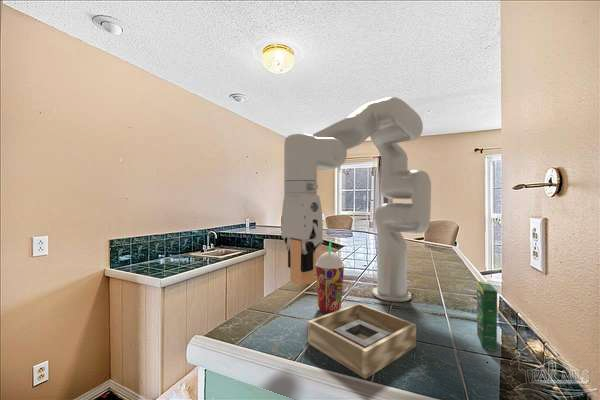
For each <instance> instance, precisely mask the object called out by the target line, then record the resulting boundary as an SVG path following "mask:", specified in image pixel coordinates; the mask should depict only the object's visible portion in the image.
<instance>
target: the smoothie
mask: <svg viewBox="0 0 600 400" xmlns="http://www.w3.org/2000/svg"><path fill="white" fill-rule="evenodd" d="M344 268H345V264H344V262H343V259H342V258H341V257H340V255H339V254H338V253H337V252H334V251H332V242H329V243H328V251H325V252H324V253H322V254H321V255H320V256H319V257H318V259H317V261H316V262H315V280H316V296H317V298H316V299H317V307H318V308H319V309H318V310H319V311H320V312H321V313H323V314H324V315H327V314H329V313H332V312H335V311H338V310H341V309H342V298H343V297H342V296H343V282H344V271H345V270H344Z"/></svg>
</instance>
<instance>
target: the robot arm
mask: <svg viewBox="0 0 600 400" xmlns="http://www.w3.org/2000/svg"><path fill="white" fill-rule="evenodd" d="M423 129H424V125H423V121H422V118H421V116H420V115H419V113H418V112H417V111H416V110H415V109H414V108H413V107H411V106H410V105H409V104H408V103H407V102H405V101H404V100H403V99H401V98H400V97H396V96H390V97H385V98H382V99H379V100H375V101H371V102H368V103H366V104H364V105H362V106H360V107H359V108H357V109H356V110H354V111H353V112H351V113H350V114H349V115H347V116H346V117H344V118H343V119H341V120H338V121H337V122H335V123H332V124H331V125H329V126H327V127H325V128H323V129H321V130H319V131H317V132H315V133H313V134H309V133H308V134H307V133H293V134H290V135H288V136H287V137H285V139H284V143H283V144H284V145H283V146H284V148H283V149H284V150H283V151H284V153H283V154H284V155H283V157H284V159H283V161H284V163H283V166H284V167H283V173H284V175H283V176H284V177H283V179H284V182H283V185H284V186H283V192H284V194H283V201H282V212H281V234H280V236H281V238H282V239H283V241H284V243H285V245H286V251H287V267H288V268H290V239H293V238H294V239H299V240H301V242H302V250H303V254H301V272H307V271H312V270H313V253H314V254H315V253H316V249H318V248H319V246H321V245H322V244H323V243H324V239H323V234H324V233H323V232H324V228H323V227H324V224H323V222H324V220H323V210H322V203H321V198H320V195H318V188H319V185H318V171H328V170H334V169H337V168H339V167H341V166H342V165H343V164H344V163H345V162H346V159H347V155H348V153H347V150H350V149H354V148H356V147H358V146H360V145H361V144H363V143H364V142H365V141H366V140H367V139H368V138H370V140H371V141H372V143H373V144H374V146H375V148H376V149H377V150H378V152H379V155H380V159H381V175H380V178H381V179H380V191H381V192H380V193H381V195H382V197H384V198H386V199H391V200H411V203H409V202H408V203H404V202H386V203H383V204H380V205H379V206H378V207H377V208H376V209H375V212H374V220H375V227H376V234H377V259H376V260H377V261H376V263H377V266H376V267H377V269H376V270H377V272H376V273H377V274H376V275H377V278H376V282H377V283H376V284H377V285H376V287H374V288H373V289H372V295H373V296H374V297H376V298H377V299H379V300H383V301H388V302H396V303H397V302H398V303H401V302H407V301H410V300H411V299H412V293H411V292H410V291H408V290H407V289H408V287H411V286H412V280H407V278H408V277H407V275H408V273H407V271H408V270H407V266H408V264H407V263H408V244H407V242H406V239H405V237H404V236H403V234H402V233H410V234H411V233H412V234H423V233H425V232H427V231H428V229H429V227H430V224H431V210H432V209H431V208H432V203H431V201H432V182H431V178H430V175H429V173H427V172H426V171H425V170H422V169H408V166H409V165H408V164H409V163H408V162H409V159H408V155H407V153H406V151H405V150H404V148H403V147H401V145H400V144H399V143H403V142H404V143H405V142H411V141H414V140H417V139H418V138H420V137H421V135H422V133H423ZM307 242H309V245H308V246H307Z"/></svg>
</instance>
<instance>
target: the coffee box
mask: <svg viewBox="0 0 600 400" xmlns="http://www.w3.org/2000/svg"><path fill="white" fill-rule="evenodd" d="M497 312H498V291H497V290H496V288H494V286H493V285H492V284H491V283H490V282H487V281H476V334H477V337H478V339H479V343H480V346H481V347H482V349H484V350H487V349H488V351H493V352H495V351H497V350H498V349H497V348H498V343H497V342H498V340H497V339H498V338H497V337H498V336H497V334H498V330H497V329H498V328H497V327H498V313H497Z"/></svg>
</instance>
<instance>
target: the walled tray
mask: <svg viewBox="0 0 600 400" xmlns="http://www.w3.org/2000/svg"><path fill="white" fill-rule="evenodd" d="M307 344H308V345H311V346H312V347H314V348H315V349H317V350H318V351H320V352H321V353H323V354H325V356H327V357H329V358H331V359H333V360H334V361H335V362H337V363H339V364H341V365H342V366H344V367H345V368H346V369H348V370H350V371H351V372H353V373H355V374H357V375H358V376H360V377H361V378H363V379H364V380H367V379H368V378H370V377H371V376H373V375H374V374H375V373H378V372H379V371H381V370H382V369H383V368H385V367H387V366H388V365H390V364H391V363H393V362H395V361H396V360H397V359H399V358H401V357H402V356H403V355H406V354H407V353H408V352H410V351H412V350H413V349H414V348H416V347H417V324H416V323H414V322H411V321H409V320H406V319H403V318H401V317H397V316H395V315H393V314H389V313H387V312H384V311H381V310H379V309H376V308H374V307H371V306H368V305H365V304H362V303H360V302H357V303H354V304H353V305H349V306H347V307H344V308H340V309H339V310H338V311H335V312H332V313H329V314H324V315H321V316H319V317H316V318H313V319H310V320H308V321H307Z"/></svg>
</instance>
